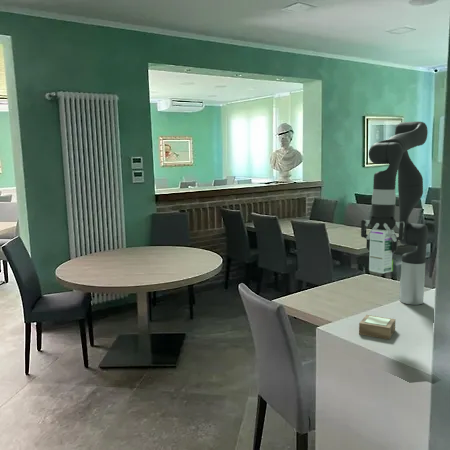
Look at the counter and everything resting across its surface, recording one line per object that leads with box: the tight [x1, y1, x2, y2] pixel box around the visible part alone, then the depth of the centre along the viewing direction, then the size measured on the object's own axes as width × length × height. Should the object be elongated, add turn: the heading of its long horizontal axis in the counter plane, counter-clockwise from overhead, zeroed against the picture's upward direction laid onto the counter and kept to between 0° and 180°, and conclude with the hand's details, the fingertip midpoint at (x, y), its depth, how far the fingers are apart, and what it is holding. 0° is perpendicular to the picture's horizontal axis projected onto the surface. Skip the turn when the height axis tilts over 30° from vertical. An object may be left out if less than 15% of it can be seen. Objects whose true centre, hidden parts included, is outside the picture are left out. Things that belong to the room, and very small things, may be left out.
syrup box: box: [368, 229, 395, 274], centre depth 158 cm, size 6×6×14 cm
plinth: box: [358, 314, 396, 340], centre depth 161 cm, size 10×10×4 cm
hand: (381, 251), depth 158 cm, fingers closed on syrup box, 7 cm apart
